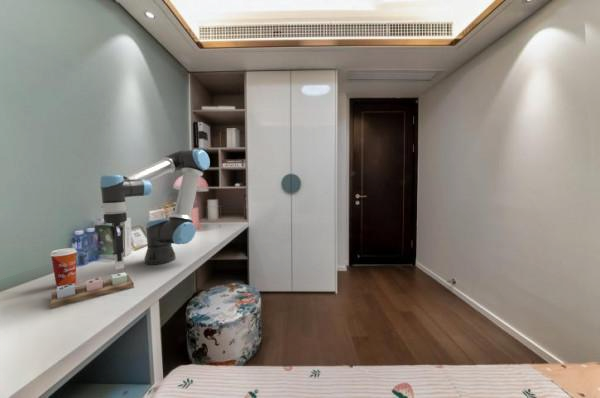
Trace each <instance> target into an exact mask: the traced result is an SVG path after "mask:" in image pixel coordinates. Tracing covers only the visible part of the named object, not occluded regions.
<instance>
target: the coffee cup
mask: <svg viewBox="0 0 600 398" xmlns="http://www.w3.org/2000/svg"><path fill="white" fill-rule="evenodd" d="M77 252H78V250H77V249H76V248H75V247H67V248H65V247H64V248H61V249H55V250H53V251H51V253H50V255H49V256H50V257H51V261H52V268H53V274H54V280H55V281H54V282H55V285H56V288H57V287H59V286H63V285H68V284H73V283H75V284H76V282H77Z"/></svg>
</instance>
